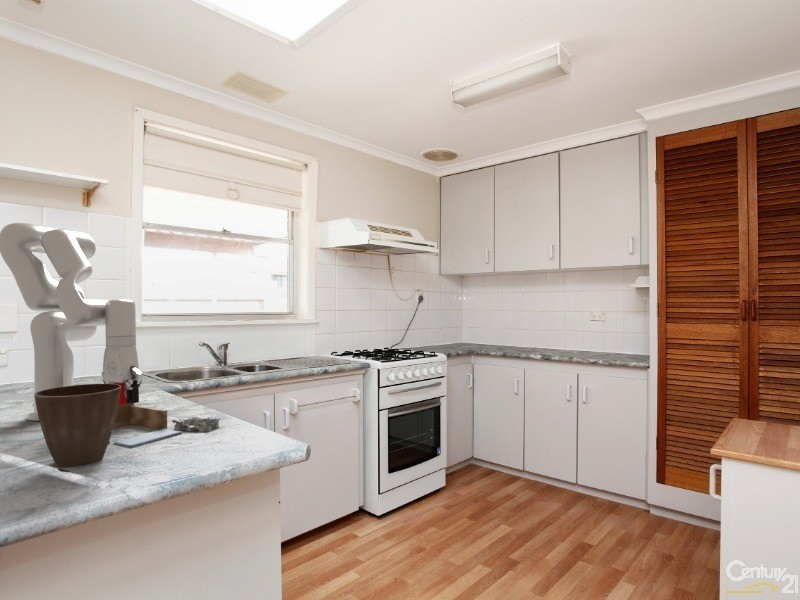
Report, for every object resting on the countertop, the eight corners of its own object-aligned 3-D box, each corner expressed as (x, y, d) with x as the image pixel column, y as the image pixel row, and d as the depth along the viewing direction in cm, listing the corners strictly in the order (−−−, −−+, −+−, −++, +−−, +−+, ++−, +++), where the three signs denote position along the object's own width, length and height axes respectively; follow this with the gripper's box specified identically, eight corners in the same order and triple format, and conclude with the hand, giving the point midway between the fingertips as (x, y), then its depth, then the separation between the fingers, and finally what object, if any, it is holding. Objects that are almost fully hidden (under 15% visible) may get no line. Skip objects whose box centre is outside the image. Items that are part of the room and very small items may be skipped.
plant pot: (22, 484, 88) (23, 398, 89) (45, 460, 102) (46, 386, 102) (115, 472, 94) (115, 392, 95) (125, 451, 108) (125, 381, 108)
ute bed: (68, 441, 116) (68, 415, 116) (130, 426, 130) (131, 403, 130) (109, 451, 108) (109, 422, 108) (171, 434, 123) (171, 409, 123)
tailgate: (114, 441, 110) (131, 445, 107) (164, 428, 122) (181, 431, 119) (114, 446, 110) (131, 450, 107) (164, 432, 122) (181, 436, 119)
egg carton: (169, 436, 122) (169, 420, 122) (189, 428, 129) (189, 413, 129) (205, 438, 119) (205, 422, 119) (223, 430, 127) (223, 415, 127)
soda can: (120, 425, 131) (121, 382, 131) (99, 424, 133) (99, 381, 133) (139, 419, 138) (140, 378, 138) (119, 418, 140) (119, 377, 140)
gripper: (89, 343, 136) (90, 402, 136) (127, 343, 128) (128, 406, 128) (115, 341, 143) (116, 398, 143) (152, 341, 135) (154, 401, 135)
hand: (122, 402), depth 135 cm, fingers open, 9 cm apart
